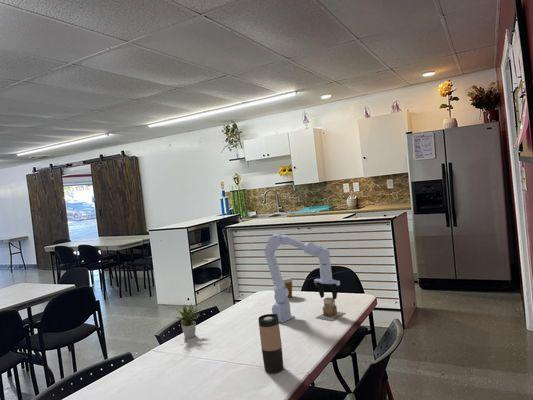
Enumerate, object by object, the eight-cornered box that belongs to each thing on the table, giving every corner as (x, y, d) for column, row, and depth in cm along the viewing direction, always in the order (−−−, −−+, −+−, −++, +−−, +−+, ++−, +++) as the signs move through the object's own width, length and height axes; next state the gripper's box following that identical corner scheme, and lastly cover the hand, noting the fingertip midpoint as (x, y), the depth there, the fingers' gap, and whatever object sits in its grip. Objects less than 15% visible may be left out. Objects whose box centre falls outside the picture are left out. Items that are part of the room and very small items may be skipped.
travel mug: (272, 363, 154) (266, 312, 154) (288, 367, 149) (282, 315, 149) (260, 371, 148) (253, 319, 148) (275, 375, 143) (269, 321, 143)
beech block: (330, 307, 197) (329, 300, 197) (324, 306, 200) (323, 299, 200) (335, 305, 200) (334, 297, 200) (328, 304, 203) (327, 296, 203)
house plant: (198, 342, 185) (193, 308, 184) (170, 343, 188) (166, 309, 187) (208, 331, 199) (204, 299, 198) (182, 332, 202) (179, 300, 201)
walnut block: (331, 317, 197) (330, 308, 197) (323, 315, 200) (322, 307, 200) (337, 314, 200) (336, 305, 200) (329, 312, 204) (328, 304, 204)
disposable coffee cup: (277, 299, 240) (275, 280, 239) (281, 295, 249) (279, 276, 249) (292, 299, 237) (290, 279, 237) (296, 294, 246) (294, 275, 246)
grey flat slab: (332, 321, 192) (332, 320, 192) (315, 318, 199) (315, 317, 199) (345, 313, 201) (345, 312, 201) (329, 310, 208) (329, 310, 208)
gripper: (342, 270, 197) (345, 297, 198) (318, 268, 207) (321, 294, 208) (334, 274, 192) (337, 301, 193) (310, 272, 202) (313, 298, 203)
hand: (328, 298), depth 200 cm, fingers open, 7 cm apart
